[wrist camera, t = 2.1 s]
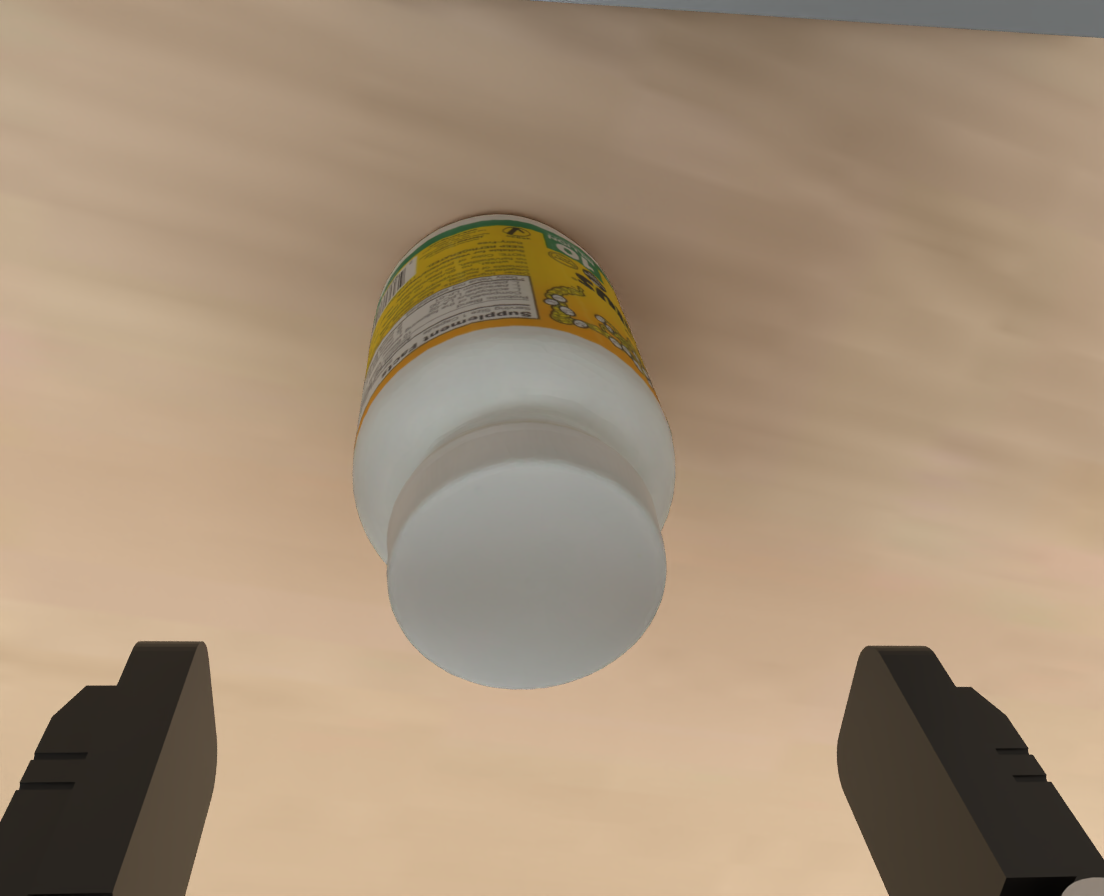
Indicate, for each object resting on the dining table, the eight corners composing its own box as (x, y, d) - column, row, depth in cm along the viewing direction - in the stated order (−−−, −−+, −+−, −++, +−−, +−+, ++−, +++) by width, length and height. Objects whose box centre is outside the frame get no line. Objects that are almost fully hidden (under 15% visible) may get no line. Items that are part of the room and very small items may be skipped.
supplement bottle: (338, 252, 22) (270, 477, 14) (583, 175, 22) (667, 359, 13) (424, 464, 25) (412, 765, 16) (644, 398, 24) (748, 671, 16)
